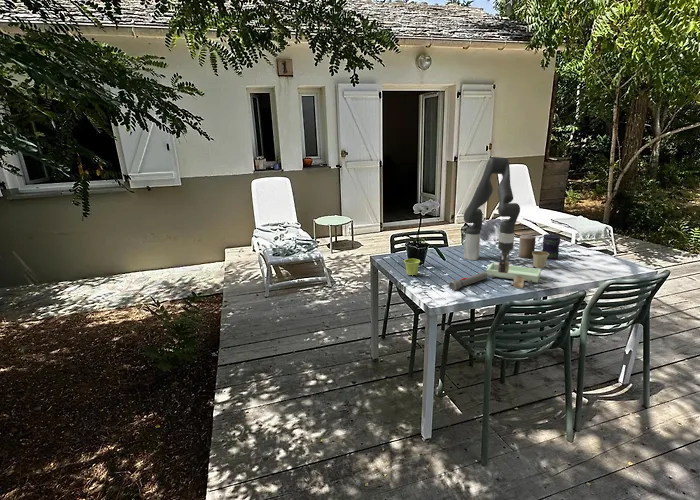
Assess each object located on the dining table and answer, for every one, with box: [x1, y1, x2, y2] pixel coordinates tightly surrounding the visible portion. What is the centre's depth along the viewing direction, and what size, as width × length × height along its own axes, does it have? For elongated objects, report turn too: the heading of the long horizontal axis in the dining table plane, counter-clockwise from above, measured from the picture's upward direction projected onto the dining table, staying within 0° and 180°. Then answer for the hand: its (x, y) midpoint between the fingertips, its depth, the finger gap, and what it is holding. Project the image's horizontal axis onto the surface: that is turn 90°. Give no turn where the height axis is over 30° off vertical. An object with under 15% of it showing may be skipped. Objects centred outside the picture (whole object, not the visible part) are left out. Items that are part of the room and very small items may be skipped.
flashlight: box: [448, 271, 489, 291], centre depth 211 cm, size 5×28×5 cm, turn 124°
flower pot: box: [532, 250, 549, 269], centre depth 236 cm, size 9×9×9 cm
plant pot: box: [403, 258, 421, 277], centre depth 228 cm, size 9×9×9 cm
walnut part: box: [498, 261, 510, 273], centre depth 209 cm, size 4×4×5 cm
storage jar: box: [541, 233, 561, 261], centre depth 251 cm, size 10×10×15 cm
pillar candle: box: [517, 234, 536, 259], centre depth 255 cm, size 10×10×15 cm
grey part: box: [494, 261, 500, 271], centre depth 224 cm, size 4×4×5 cm
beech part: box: [513, 276, 525, 289], centre depth 206 cm, size 4×4×5 cm
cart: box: [485, 262, 542, 285], centre depth 220 cm, size 27×16×4 cm, turn 59°
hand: (503, 270), depth 209 cm, fingers closed on walnut part, 4 cm apart
